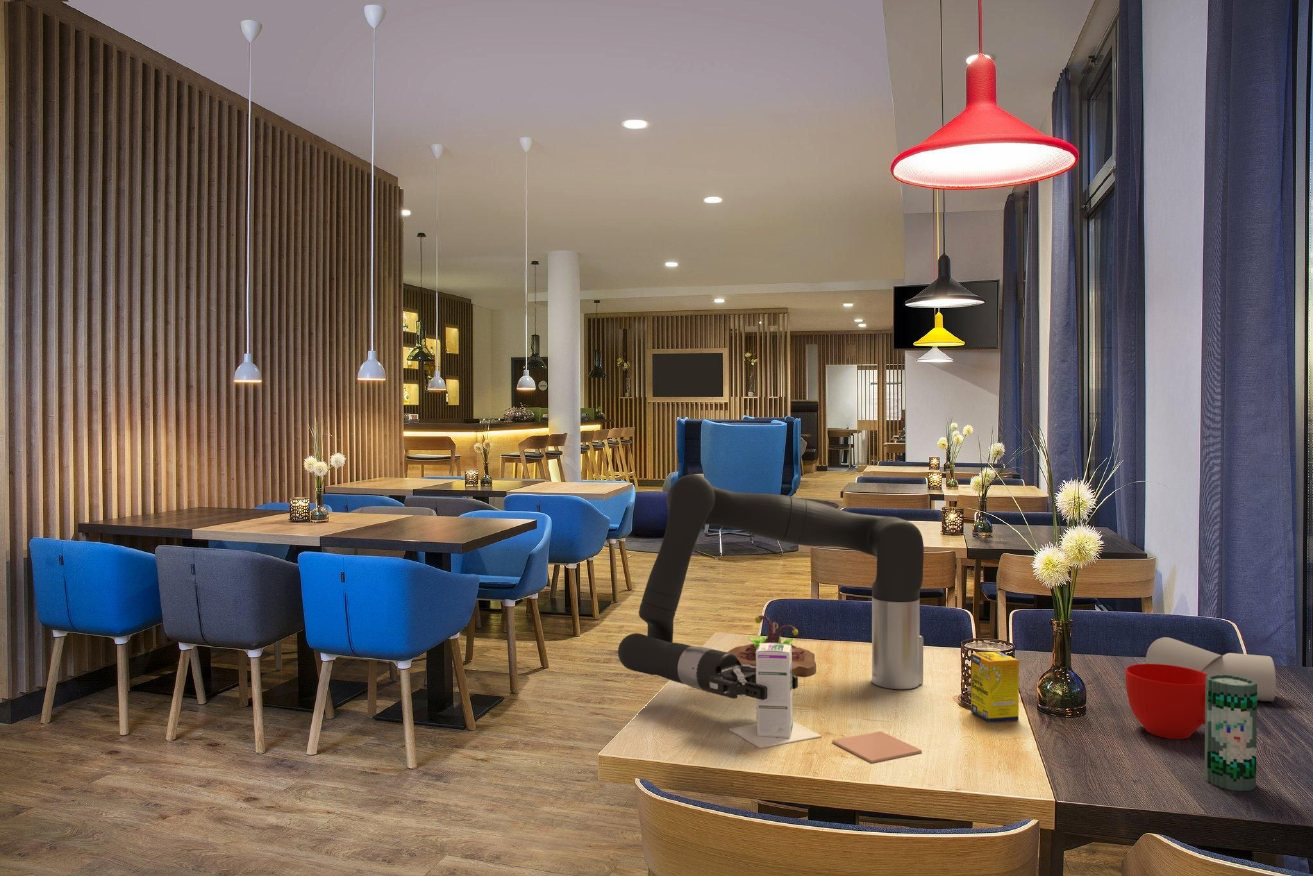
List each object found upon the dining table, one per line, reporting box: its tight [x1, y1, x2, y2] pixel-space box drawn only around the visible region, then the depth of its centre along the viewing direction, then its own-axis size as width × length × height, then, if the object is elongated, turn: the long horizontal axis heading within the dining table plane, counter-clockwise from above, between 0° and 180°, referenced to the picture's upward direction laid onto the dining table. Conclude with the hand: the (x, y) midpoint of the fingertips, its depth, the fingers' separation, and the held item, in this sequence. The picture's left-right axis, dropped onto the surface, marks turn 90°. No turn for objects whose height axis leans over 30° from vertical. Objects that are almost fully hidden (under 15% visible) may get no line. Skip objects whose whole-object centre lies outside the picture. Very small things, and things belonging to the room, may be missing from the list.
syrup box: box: [755, 642, 794, 738], centre depth 155 cm, size 6×6×14 cm
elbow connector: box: [1145, 636, 1277, 702], centre depth 179 cm, size 18×10×20 cm
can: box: [1204, 674, 1258, 792], centre depth 133 cm, size 6×6×15 cm
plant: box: [727, 614, 817, 678], centre depth 198 cm, size 20×20×11 cm
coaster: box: [831, 730, 923, 764], centre depth 148 cm, size 10×10×1 cm
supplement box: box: [970, 650, 1020, 724], centre depth 163 cm, size 6×6×11 cm
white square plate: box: [728, 720, 822, 749], centre depth 155 cm, size 12×10×1 cm
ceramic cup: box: [1124, 663, 1208, 740], centre depth 153 cm, size 13×17×10 cm
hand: (781, 688), depth 154 cm, fingers open, 8 cm apart
